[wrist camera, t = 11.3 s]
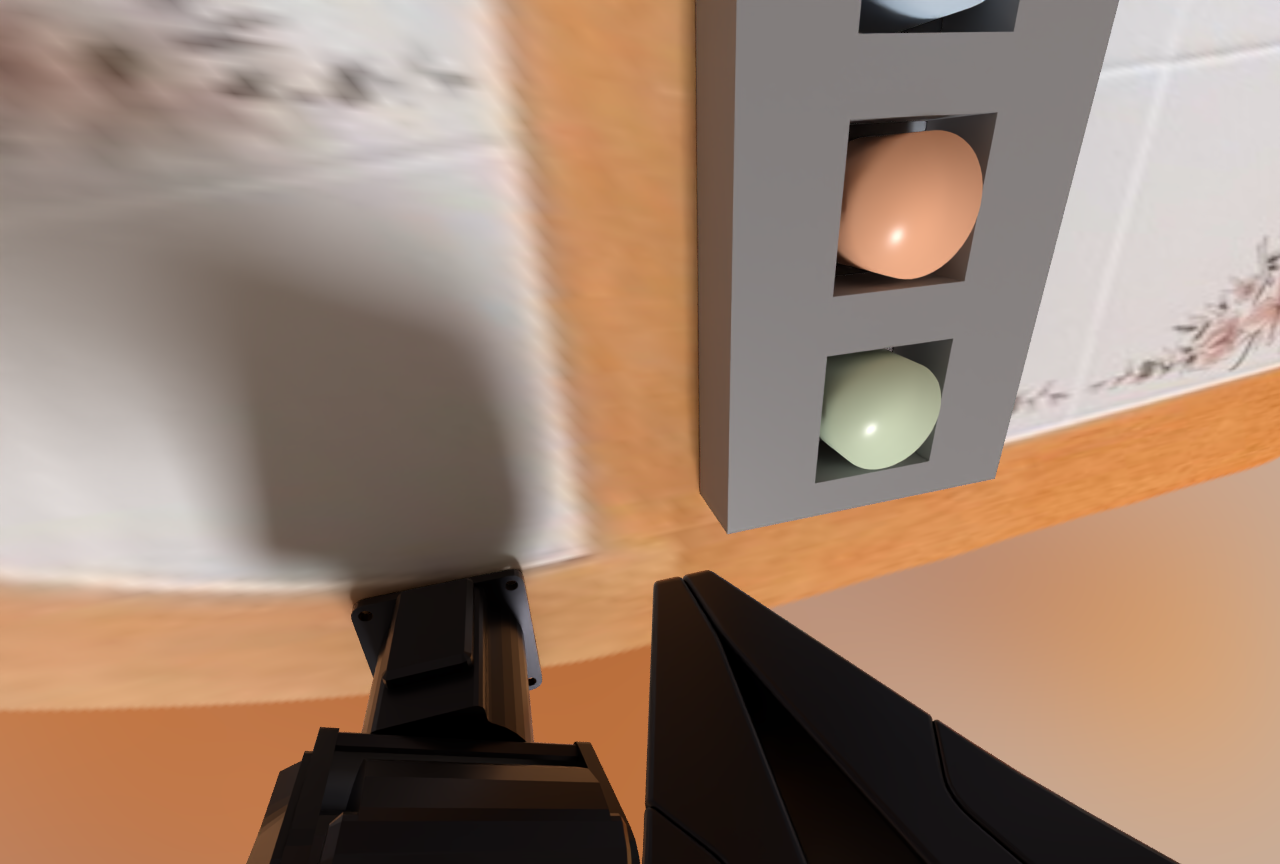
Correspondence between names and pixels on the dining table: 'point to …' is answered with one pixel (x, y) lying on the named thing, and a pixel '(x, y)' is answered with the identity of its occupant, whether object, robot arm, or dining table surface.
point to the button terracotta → (907, 202)
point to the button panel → (810, 220)
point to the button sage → (877, 407)
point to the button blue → (905, 13)
